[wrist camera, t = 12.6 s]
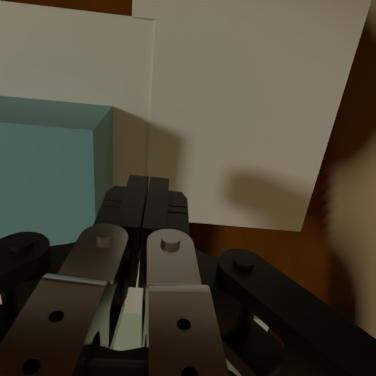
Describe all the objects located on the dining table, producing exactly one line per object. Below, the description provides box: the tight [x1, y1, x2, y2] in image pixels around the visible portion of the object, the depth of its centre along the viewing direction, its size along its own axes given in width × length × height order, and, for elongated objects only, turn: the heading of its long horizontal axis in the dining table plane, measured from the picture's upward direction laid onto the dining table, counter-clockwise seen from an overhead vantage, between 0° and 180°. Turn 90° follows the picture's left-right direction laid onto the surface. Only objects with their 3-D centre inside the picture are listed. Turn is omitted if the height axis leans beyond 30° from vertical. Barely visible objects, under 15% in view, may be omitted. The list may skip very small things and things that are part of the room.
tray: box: [0, 0, 372, 376], centre depth 18 cm, size 18×31×6 cm, turn 174°
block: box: [0, 96, 113, 246], centre depth 15 cm, size 6×6×4 cm
